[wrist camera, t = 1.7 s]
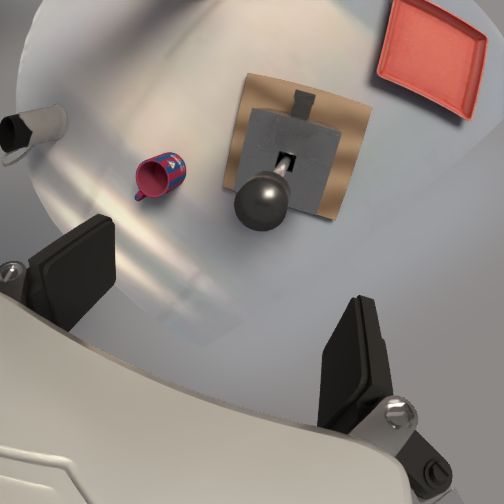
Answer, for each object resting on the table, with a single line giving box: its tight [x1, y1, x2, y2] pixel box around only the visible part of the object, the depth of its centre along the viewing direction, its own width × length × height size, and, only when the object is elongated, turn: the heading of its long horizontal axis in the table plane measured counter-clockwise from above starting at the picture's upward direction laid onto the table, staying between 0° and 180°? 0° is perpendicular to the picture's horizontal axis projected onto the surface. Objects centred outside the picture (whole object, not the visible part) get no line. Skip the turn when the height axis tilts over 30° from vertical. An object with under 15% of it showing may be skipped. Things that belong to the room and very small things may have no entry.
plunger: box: [234, 151, 297, 231], centre depth 27 cm, size 8×8×21 cm
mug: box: [135, 152, 186, 201], centre depth 50 cm, size 7×10×7 cm
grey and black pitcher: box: [0, 104, 68, 167], centre depth 46 cm, size 9×14×15 cm, turn 133°
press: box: [233, 89, 342, 215], centre depth 37 cm, size 13×10×15 cm
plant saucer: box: [377, 0, 488, 121], centre depth 31 cm, size 18×18×3 cm
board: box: [223, 73, 372, 220], centre depth 45 cm, size 20×20×2 cm
